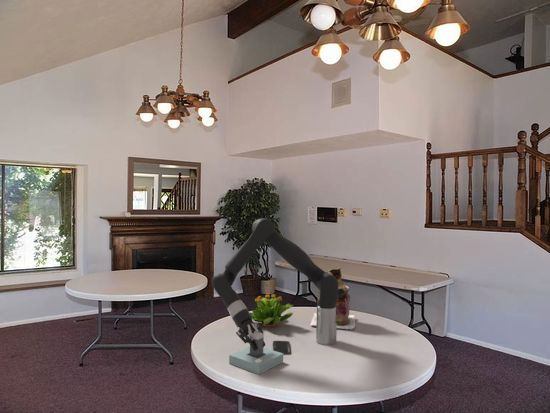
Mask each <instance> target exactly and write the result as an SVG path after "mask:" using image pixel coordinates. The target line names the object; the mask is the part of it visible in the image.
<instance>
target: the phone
mask: <svg viewBox="0 0 550 413" xmlns="http://www.w3.org/2000/svg"><path fill="white" fill-rule="evenodd" d="M272 350H273V351H277V352H280V353H283V355H290V354H291V345H290V341H289V340H288V341H287V340H273V341H272Z"/></svg>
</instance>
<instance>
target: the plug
mask: <svg viewBox="0 0 550 413" xmlns="http://www.w3.org/2000/svg"><path fill="white" fill-rule="evenodd" d="M263 333H264V332H263ZM263 333H259V332H256V331H255V332H254V333H252V337H253V340H254V341H255V343H256V344H257V346H258V349H257V350H256V351H254V350H253V348H252V347H251V345H250V344H249V347H250V356H252V357H255V358H259V357H261V356H263V343H264V342H265V341H264V340H265V339H264V337H265V333H264V334H263Z"/></svg>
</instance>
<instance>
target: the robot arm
mask: <svg viewBox="0 0 550 413" xmlns="http://www.w3.org/2000/svg"><path fill="white" fill-rule="evenodd" d="M251 230H252V233H251V235H250V236H249V238H248V239H247V240H246V241H245V242H244V243H243V244H242V245H241V246H240V247H239V248H238V249H237V250H236V251H235V252H234V253H233V255H232V256H231V257H230V259H229V260H228V261H227V262H226V263H225V266H224V267H225V268H224V271H223V273H216V274H215V275H213V276H212V278H211V285H212V288H213V289H214V291H215V292H216V294H217V295H218V296H219V297H220V298H221V300H222V302H223V304H224V306H225V308H226V310H227V311H228V313H229V315H230V317H231V319H232V320H233V322H234V324H235V326H236V328H238V330H237V331H236V332H235V334H236V335H237V337H238V338H240V339H241V341H242V342H243V343H244V344H249V346H250V345H251V347H252V348H253V350H254V351H256V350H257V349H258V346H257V344H256V343H255V341H254V340H253V337H252V333H254V332H259V333H263V334H264V335H265V333H264V331H263V326H262V324H261V323H260V322H257V323H255V321H254V320H252V316H251V314H250V313H251V312H250V311H249V310H248V307H247V306H246V304H245V303H244V302H243V301H242V299H241V297H240V296H239V294H238V293H237V292H236V291H235V290H234V288H233V287H232V286H233V284H234V282H235V280H236V279H237V276H238V274H239V273H240V272H241V271H242V269H243V268H244V267H245V265H246V263H247V262H249V260H250V258H251V257H252V256H253V255H254V253H255V252H256V251H257V250H258V249H259V247H261V246H262V245H263V244H264V242H265V243H266V244H267V245H269V247H271V248H272V249H273V250H274V251H275V252H276V253H277V254H278V255H279V256H280V257H281V258H282V259H283V260H285V261H286V262H287V263H288V264H289V265H290V266H291V267H293V268H294V269H296V270H297V271H298V272H300V273H301V274H302V275H304V276H306V277H307V278H308V279H309V280H310V281H311V282H312V283H313V285H314V286H315V287H316V288H317V289H318V291H319V290H320V298H319V297H318V299H317V301H316V313H317V324H316V326H315V327H316V328H315V342H316V343H318V344H320V345H329V346H330V345H334V344H337V335H338V334H337V333H338V332H337V329H338V328H337V324H336V303H337V300H338V280H337V279H336V277H335V276H333V275H331V274H329V273H327V271H325V270H323V268H320V267H319V266H318V265H317V264H315V263H314V261H313V260H312V259H311V257H310V256H309V255H308V254H307V252H306V251H304V250H303V249H302V248H301V247H300V246H299V245H297V244H296V243H294V242H292V240H290V239H288V238H286V237H285V236H282V234H281V233H279V232H278V231H277V230H276V229H275V225H274V222H273V221H272V220H270V219H269V218H263V217H262V218H258V219H256V220H254V221H253V223H252V225H251ZM263 347H264V348H265V347H266V342H265V341H264V343H263Z"/></svg>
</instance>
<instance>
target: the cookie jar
mask: <svg viewBox="0 0 550 413" xmlns="http://www.w3.org/2000/svg"><path fill="white" fill-rule="evenodd" d="M341 269H342V267H341V266H340V267H339V268H331V269H329V270H327V271H326V273H329V274H331V275H333V276H335V277H336V279H337V280H338V300H337V303H336V324H337V329H341V330H348V329H350V330H349V331H351V330H353V329H355V327H356V320H355V317H356V315H354V314H350V311H351V310H350V309H351V308H350V303H351V295H350V294H349V291H350V287H349V286H348V285H346V284H344V283H343V281H342V272H341ZM319 298H320V290H319V289H318V299H319ZM316 324H317V312H314V313H313V317H312V318H311V322H310V326H311V327H316Z"/></svg>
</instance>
